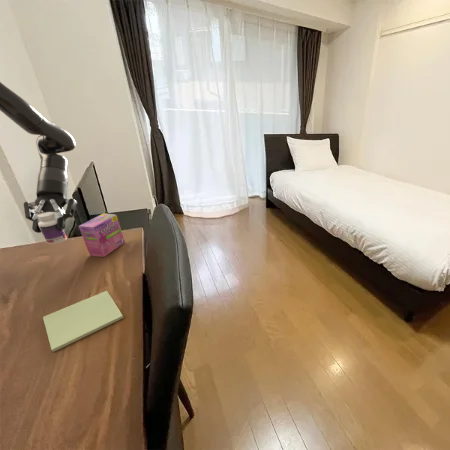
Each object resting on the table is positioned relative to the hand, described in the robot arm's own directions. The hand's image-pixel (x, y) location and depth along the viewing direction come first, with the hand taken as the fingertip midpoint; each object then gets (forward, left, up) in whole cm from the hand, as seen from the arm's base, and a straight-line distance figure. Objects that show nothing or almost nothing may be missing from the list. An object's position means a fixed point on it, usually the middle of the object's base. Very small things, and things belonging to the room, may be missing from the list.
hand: (48, 230), depth 87 cm
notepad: (-1, -37, -11) cm, 38 cm away
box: (+13, -3, -12) cm, 18 cm away
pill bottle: (+1, +2, -5) cm, 5 cm away
